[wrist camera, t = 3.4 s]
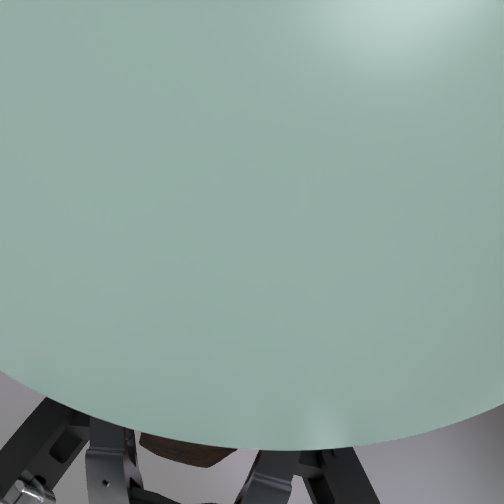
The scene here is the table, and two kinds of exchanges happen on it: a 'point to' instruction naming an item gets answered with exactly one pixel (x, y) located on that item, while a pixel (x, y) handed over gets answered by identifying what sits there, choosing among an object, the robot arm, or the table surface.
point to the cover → (255, 215)
